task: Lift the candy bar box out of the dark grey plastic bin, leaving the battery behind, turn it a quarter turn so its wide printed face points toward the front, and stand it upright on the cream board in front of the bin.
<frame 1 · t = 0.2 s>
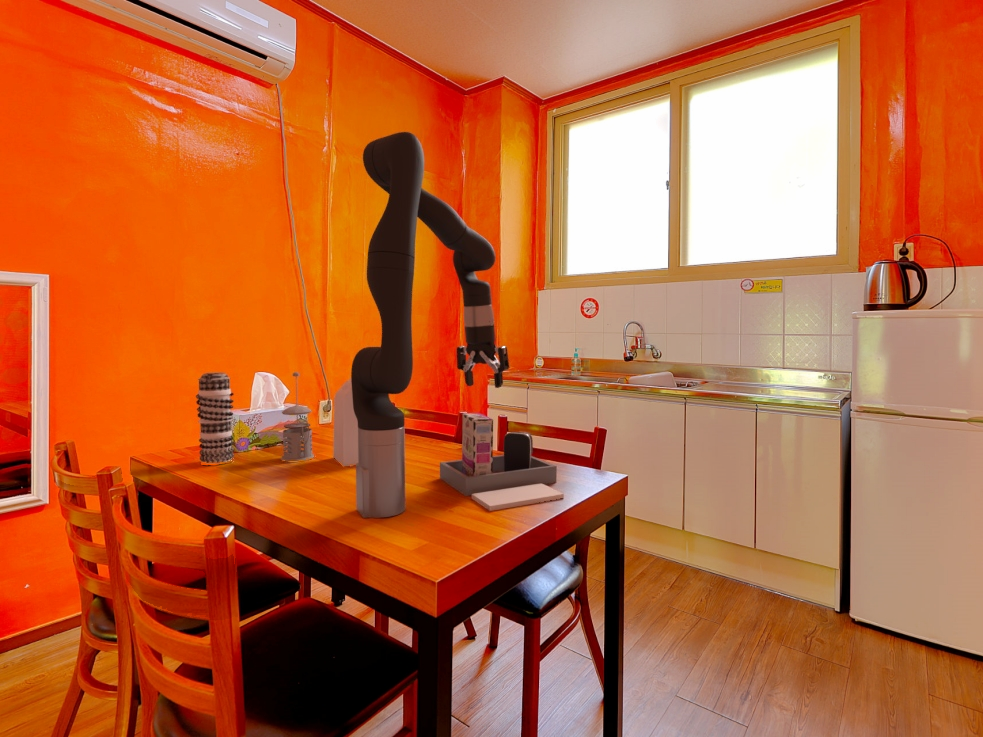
hand: (484, 386, 133), 22 cm above the table, tool pointing down, fingers open, 8 cm apart
milk: (358, 460, 147), on the table
decorative candle: (217, 462, 144), on the table
bin: (497, 480, 127), on the table
candy bar box: (477, 484, 124), resting in bin
french press: (299, 459, 149), on the table
board: (517, 498, 113), on the table
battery: (518, 478, 130), resting in bin
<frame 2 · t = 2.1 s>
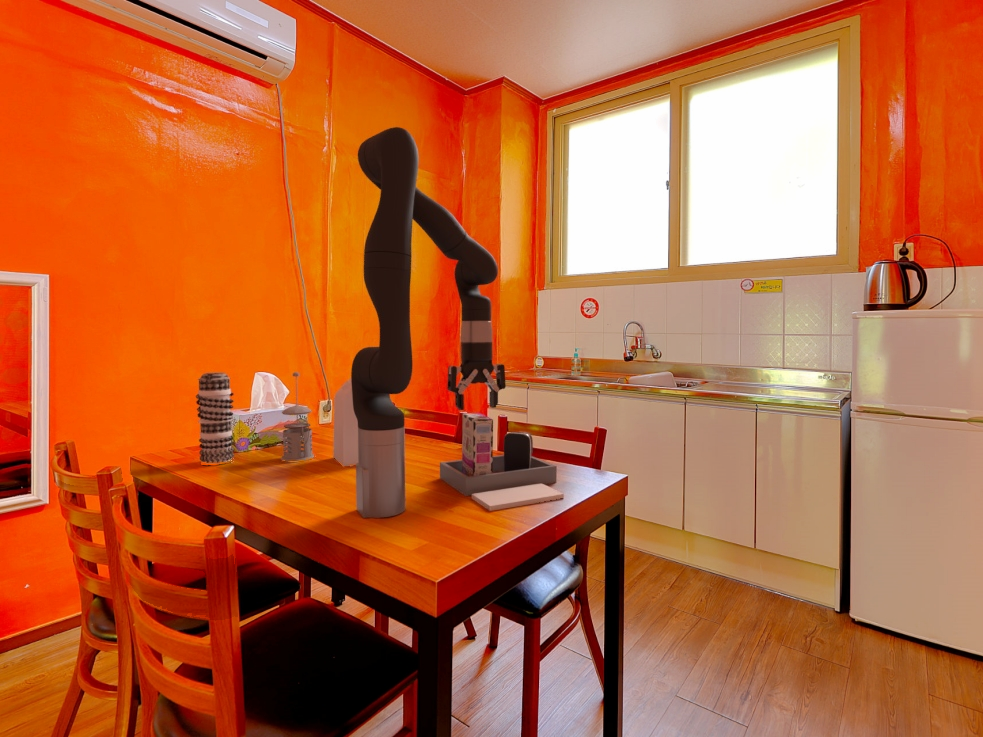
hand: (477, 408, 123), 18 cm above the table, tool pointing down, fingers open, 8 cm apart
nothing on the table moved.
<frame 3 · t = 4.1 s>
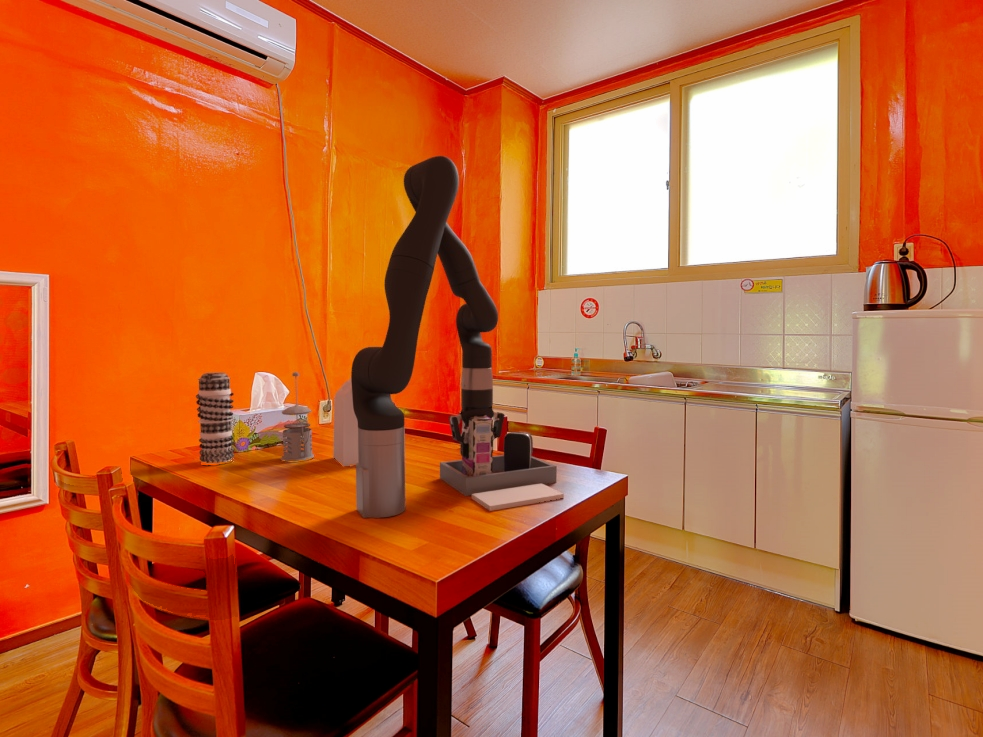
hand: (477, 456, 124), 6 cm above the table, tool pointing down, fingers closed on candy bar box, 5 cm apart
candy bar box: (477, 483, 124), resting in bin, touching gripper
everything else where it was.
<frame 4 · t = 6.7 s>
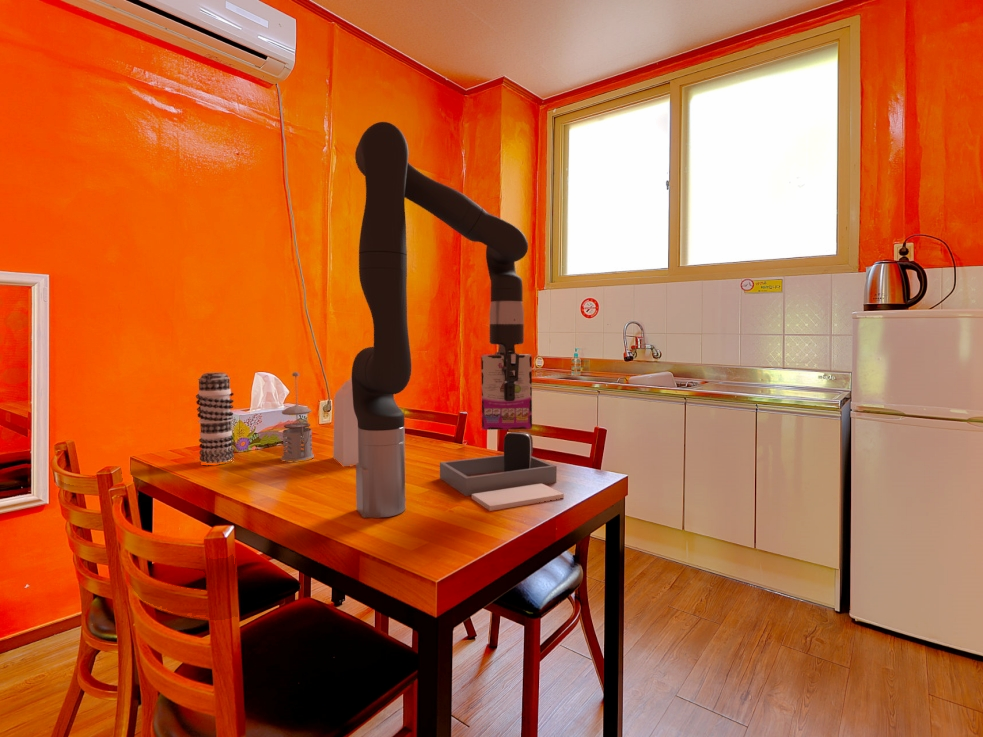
hand: (506, 398, 115), 22 cm above the table, tool pointing down, fingers closed on candy bar box, 5 cm apart
candy bar box: (506, 428, 115), point 15 cm above the table, touching gripper
everything else where it was.
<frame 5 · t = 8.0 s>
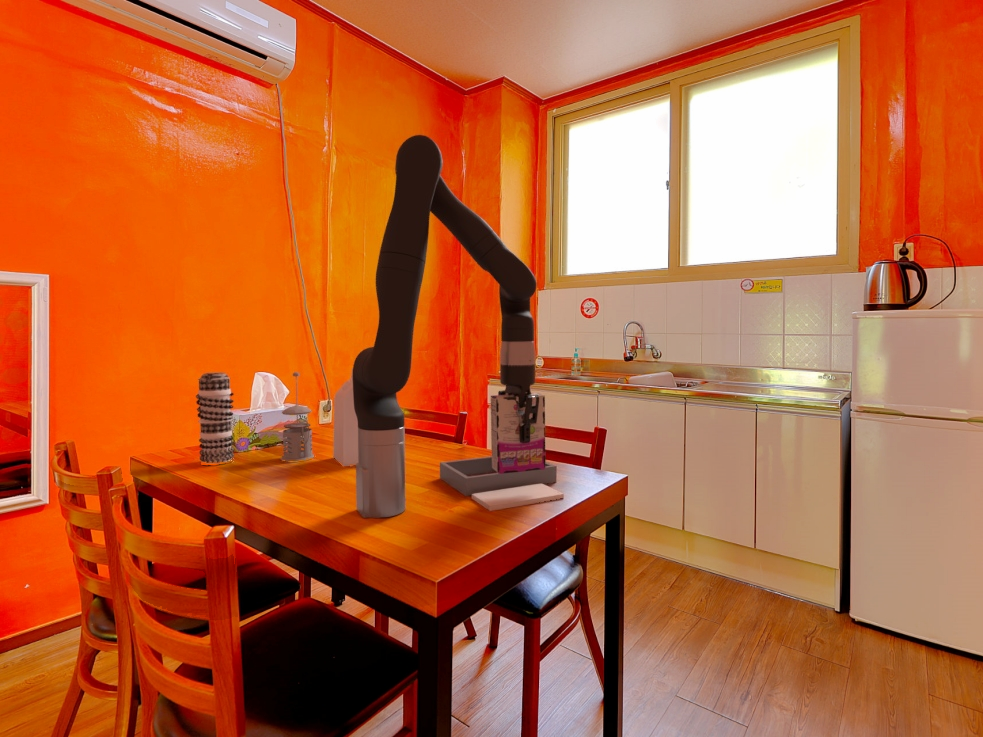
hand: (517, 439, 112), 13 cm above the table, tool pointing down, fingers closed on candy bar box, 5 cm apart
candy bar box: (517, 470, 113), point 6 cm above the table, touching gripper
everything else where it was.
when the fingers open (8 cm above the table, at t = 9.2 s): candy bar box stays where it is, resting on board.
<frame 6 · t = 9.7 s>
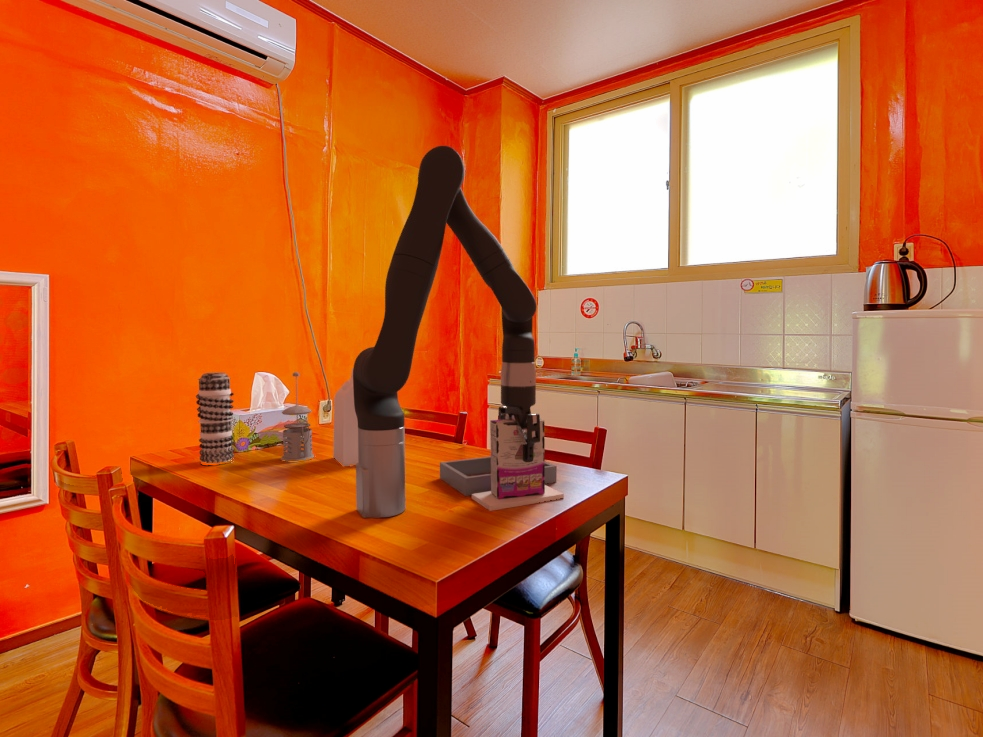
hand: (517, 457, 112), 9 cm above the table, tool pointing down, fingers open, 8 cm apart
candy bar box: (517, 494, 113), point 1 cm above the table, touching board
everything else where it was.
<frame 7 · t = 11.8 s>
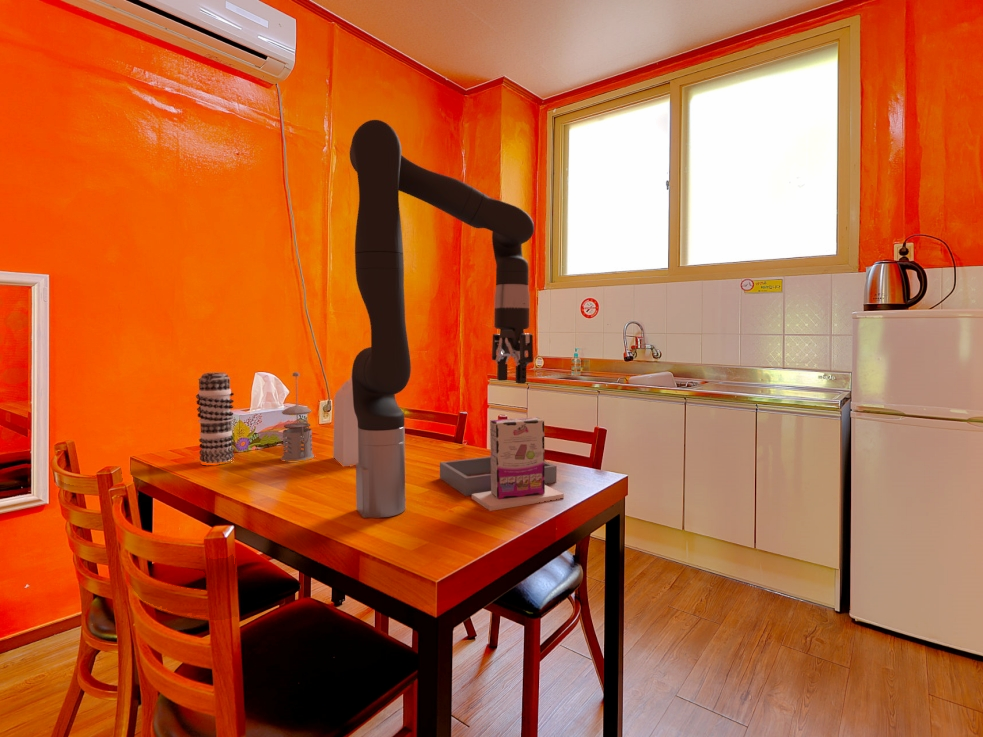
hand: (511, 381, 112), 26 cm above the table, tool pointing down, fingers open, 8 cm apart
nothing on the table moved.
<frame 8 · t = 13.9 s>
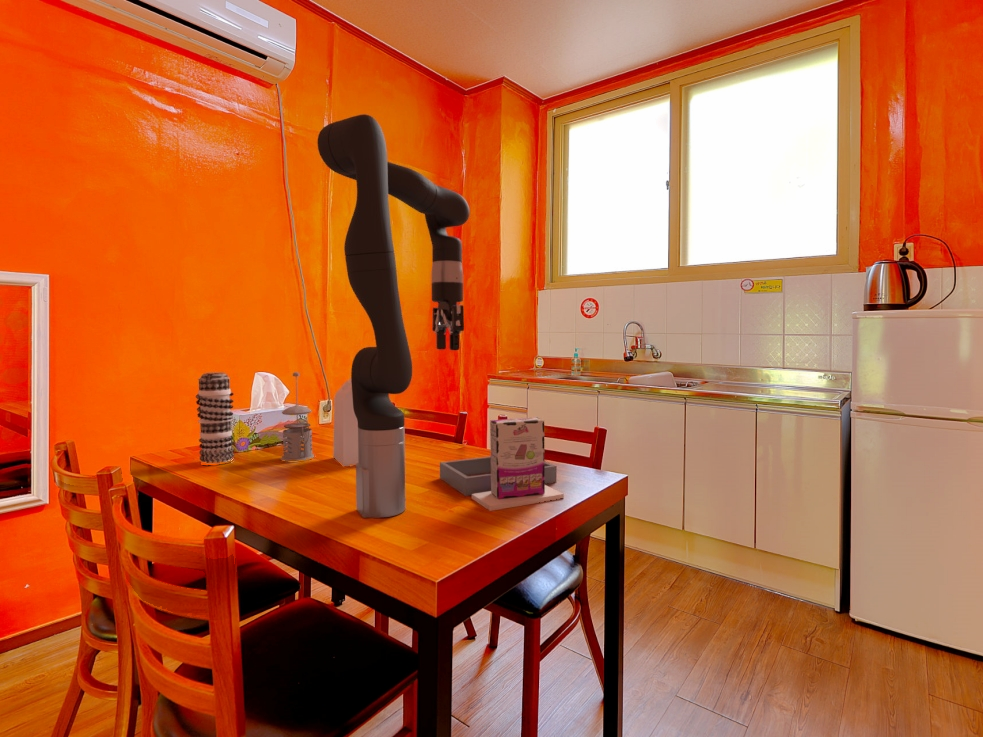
hand: (447, 349, 124), 32 cm above the table, tool pointing down, fingers open, 8 cm apart
nothing on the table moved.
at the end: candy bar box inside the target area on the board (0.1 cm from its centre), point 0.8 cm above the board's base; candy bar box tilted 0°; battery moved 0.2 cm from its start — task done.
